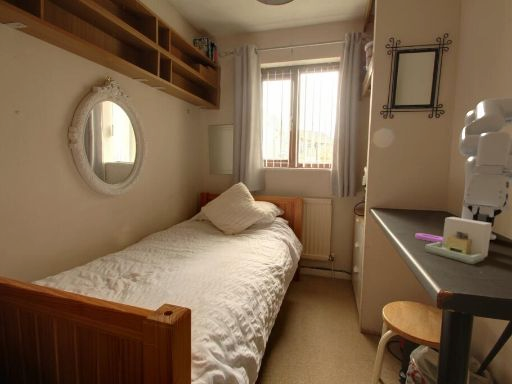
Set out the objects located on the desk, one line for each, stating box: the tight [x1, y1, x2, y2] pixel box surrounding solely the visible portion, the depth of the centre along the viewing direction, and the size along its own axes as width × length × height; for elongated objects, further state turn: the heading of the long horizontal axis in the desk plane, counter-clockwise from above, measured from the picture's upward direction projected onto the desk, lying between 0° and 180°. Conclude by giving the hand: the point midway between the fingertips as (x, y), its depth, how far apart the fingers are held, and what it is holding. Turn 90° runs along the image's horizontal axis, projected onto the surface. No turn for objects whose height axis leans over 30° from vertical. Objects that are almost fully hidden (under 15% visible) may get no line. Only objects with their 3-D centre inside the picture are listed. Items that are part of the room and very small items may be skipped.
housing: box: [441, 216, 492, 258], centre depth 82 cm, size 5×10×10 cm, turn 31°
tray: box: [424, 242, 486, 265], centre depth 79 cm, size 8×12×2 cm, turn 31°
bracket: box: [414, 232, 443, 245], centre depth 95 cm, size 13×6×7 cm, turn 45°
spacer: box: [446, 236, 472, 255], centre depth 80 cm, size 3×5×4 cm
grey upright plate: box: [461, 214, 488, 239], centre depth 85 cm, size 13×2×7 cm, turn 121°
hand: (482, 227), depth 88 cm, fingers closed on grey upright plate, 2 cm apart
